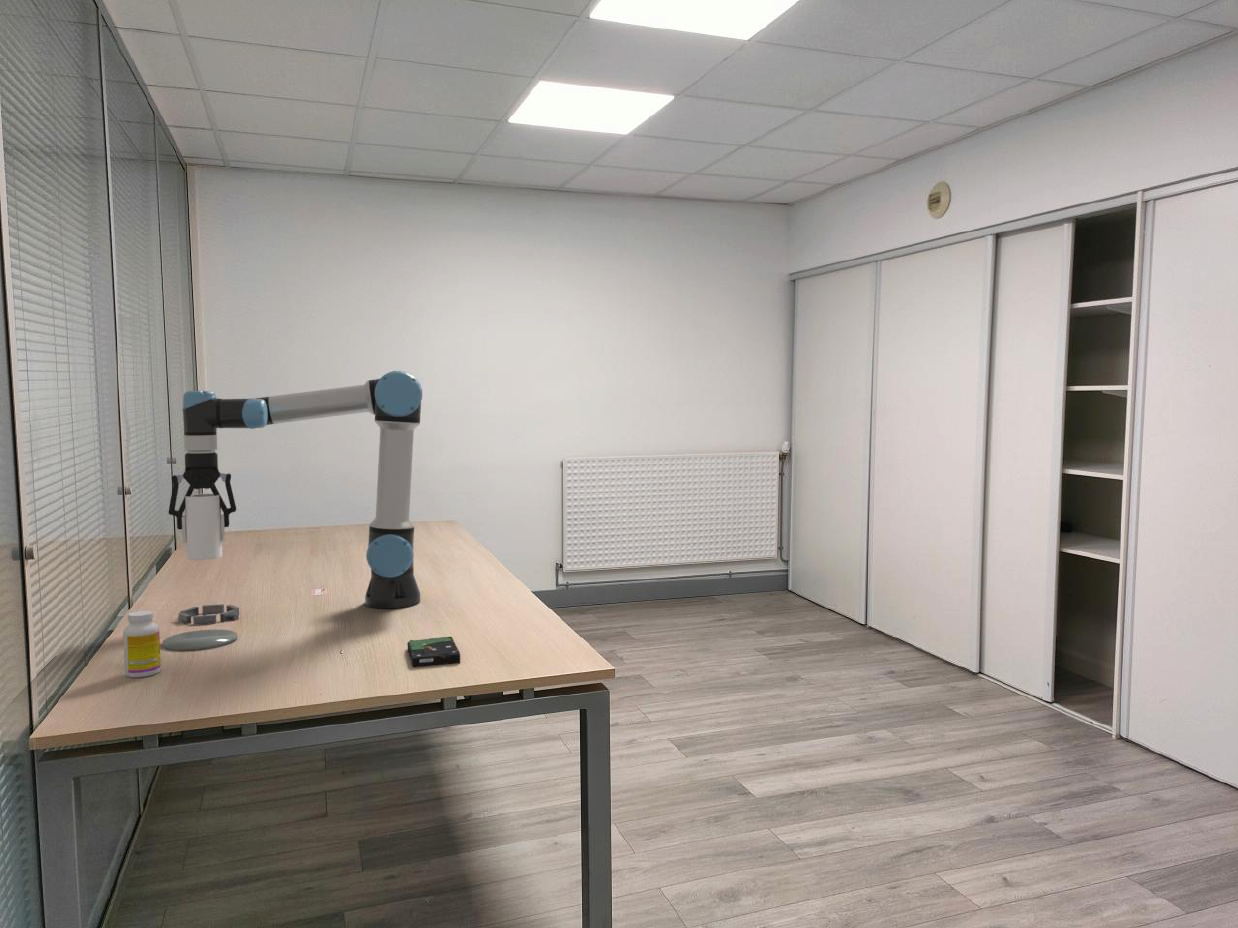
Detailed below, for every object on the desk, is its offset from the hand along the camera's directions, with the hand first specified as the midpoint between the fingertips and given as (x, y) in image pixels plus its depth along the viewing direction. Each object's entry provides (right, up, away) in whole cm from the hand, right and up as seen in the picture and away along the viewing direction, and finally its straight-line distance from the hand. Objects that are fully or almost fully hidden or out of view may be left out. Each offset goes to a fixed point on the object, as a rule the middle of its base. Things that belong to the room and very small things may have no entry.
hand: (204, 540), depth 224 cm
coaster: (+6, -22, -16) cm, 28 cm away
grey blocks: (-2, -21, +7) cm, 22 cm away
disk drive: (+64, -24, -28) cm, 74 cm away
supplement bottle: (+6, -24, -40) cm, 48 cm away
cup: (0, -4, 0) cm, 4 cm away
